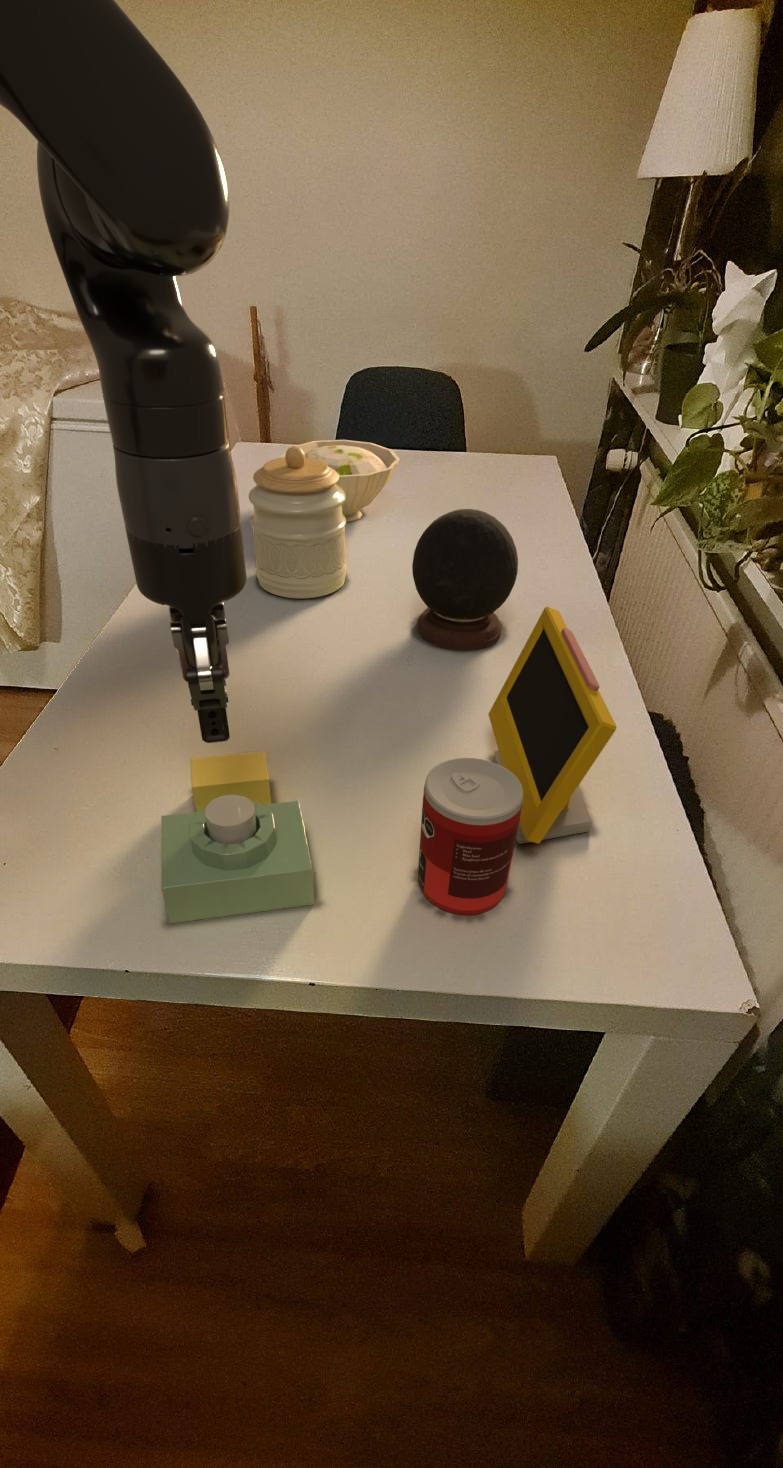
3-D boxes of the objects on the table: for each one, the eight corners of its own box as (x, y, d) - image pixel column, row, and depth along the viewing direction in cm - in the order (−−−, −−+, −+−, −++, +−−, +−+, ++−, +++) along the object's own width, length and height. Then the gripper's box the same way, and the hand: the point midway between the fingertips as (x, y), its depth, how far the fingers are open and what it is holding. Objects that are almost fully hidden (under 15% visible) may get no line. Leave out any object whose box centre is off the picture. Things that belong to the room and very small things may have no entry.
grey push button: (209, 847, 62) (205, 828, 61) (207, 816, 65) (203, 797, 63) (258, 842, 63) (256, 823, 61) (254, 810, 66) (252, 792, 64)
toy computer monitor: (484, 741, 84) (502, 602, 73) (554, 739, 84) (584, 602, 73) (519, 868, 69) (549, 720, 58) (604, 866, 70) (649, 719, 59)
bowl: (314, 543, 121) (311, 475, 114) (266, 503, 133) (261, 440, 126) (419, 524, 128) (422, 459, 121) (365, 488, 140) (365, 427, 133)
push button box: (170, 923, 64) (157, 871, 59) (169, 850, 70) (157, 799, 66) (314, 904, 66) (311, 853, 61) (301, 835, 72) (297, 784, 68)
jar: (237, 582, 110) (222, 447, 98) (298, 555, 118) (291, 426, 106) (305, 609, 105) (298, 470, 93) (364, 578, 112) (365, 446, 100)
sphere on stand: (503, 660, 96) (521, 538, 86) (400, 647, 98) (405, 526, 88) (512, 613, 106) (529, 499, 95) (418, 602, 107) (425, 488, 97)
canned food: (446, 843, 72) (456, 745, 64) (522, 879, 68) (542, 781, 61) (399, 890, 67) (404, 791, 59) (477, 931, 64) (494, 832, 56)
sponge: (198, 820, 73) (191, 787, 70) (196, 791, 76) (190, 758, 73) (272, 812, 74) (268, 779, 71) (267, 783, 77) (264, 751, 74)
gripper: (125, 486, 55) (167, 698, 67) (121, 561, 45) (170, 792, 57) (232, 481, 56) (254, 691, 68) (249, 553, 47) (271, 781, 59)
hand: (216, 737), depth 63 cm, fingers closed
